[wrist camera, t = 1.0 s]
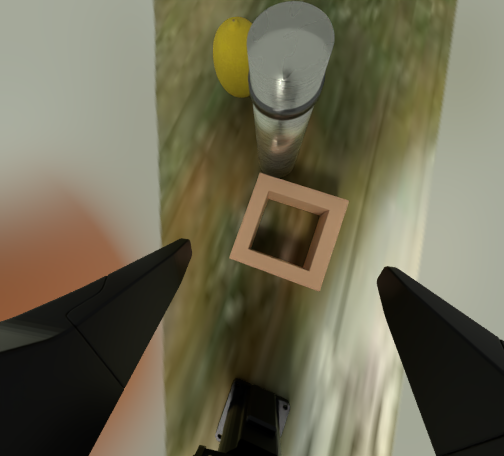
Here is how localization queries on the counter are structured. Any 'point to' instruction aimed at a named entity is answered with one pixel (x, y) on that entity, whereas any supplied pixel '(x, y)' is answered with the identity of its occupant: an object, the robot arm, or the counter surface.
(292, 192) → the terracotta collar
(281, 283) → the counter surface
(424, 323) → the robot arm
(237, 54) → the lemon
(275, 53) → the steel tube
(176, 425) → the counter surface
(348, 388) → the counter surface
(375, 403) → the counter surface
